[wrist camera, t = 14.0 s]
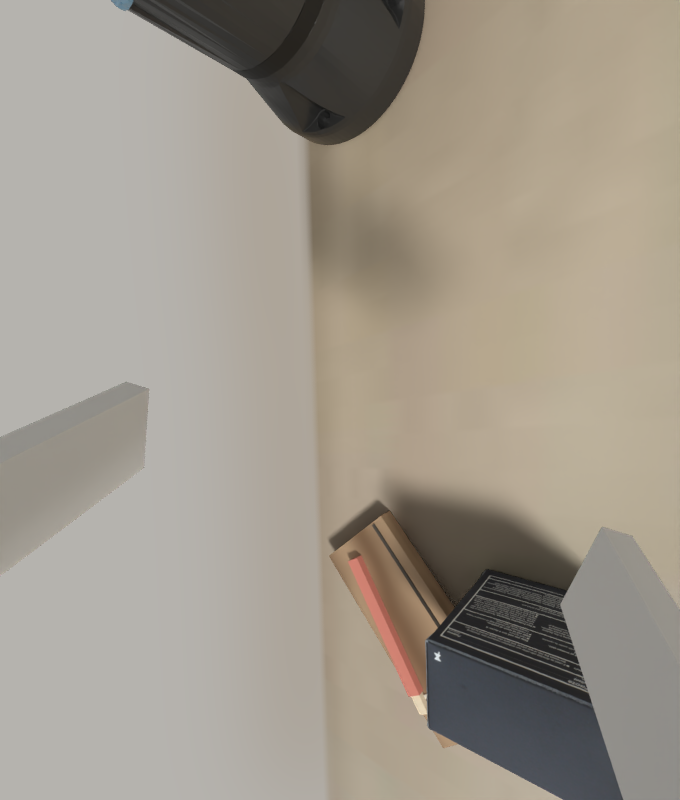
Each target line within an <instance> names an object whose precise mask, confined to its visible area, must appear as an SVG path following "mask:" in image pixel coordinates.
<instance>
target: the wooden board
mask: <svg viewBox="0 0 680 800" xmlns="http://www.w3.org/2000/svg"><path fill="white" fill-rule="evenodd" d="M360 555H361V556H362V558H363V560H364V562H365V564H366V566H367V569H368V571H369V573H370V575H371V577H372V579H373V582H374V584H375V586H376V588H377V590H378V593H379V595H380V597H381V599H382V601H383V603H384V606H385V608H386V610H387V612H388V614H389V616H390V619H391V621H392V623H393V625H394V627H395V630H396V632H397V634H398V636H399V638H400V640H401V643H402V645H403V647H404V649H405V651H406V653H407V656H408V658H409V660H410V662H411V664H412V667H413V669H414V671H415V673H416V675H417V677H418V680H419V682H420V684H421V686H422V688H423V691H422V692H423V695H424V697H425V699H426V701H427V690H426V649H425V640H426V639H427V638H428V637H429V636H430V635H431V634H433V633H434V632H435V631H436V629H437V628H438V627H439V626H440V625H441V624H442V622H443V621H444V620H445V619H446V617H447V616H448V615H449V614H450V613H451V612H452V611H453V609H454V608H455V607H454V606H453V605H452V603H451V602H450V600H449V599H448V597H447V596H446V594H445V593H444V591H443V590H442V588H441V587H440V585H439V584H438V582H437V581H436V579H435V578H434V576H433V575H432V573H431V572H430V570H429V569H428V567H427V566H426V564H425V563H424V561H423V560H422V558H421V557H420V555H419V554H418V552H417V551H416V549H415V548H414V546H413V545H412V543H411V542H410V540H409V539H408V537H407V536H406V534H405V533H404V531H403V530H402V528H401V527H400V525H399V524H398V522H397V521H396V519H395V518H394V516H393V515H392V513H391V512H390V511H389V512H387V513H385V514H383V515H381V516H380V517H379V518H377V519H376V520H375V521H373V522H372V523H371V524H370V525H368V526H367V527H366V528H364V529H363V530H362V531H360V532H359V533H358V534H357V535H355V536H354V537H353V538H351V539H350V540H349V541H348V542H346V543H345V544H344V545H342V546H341V547H340V548H339V549H337V550H336V551H335V552H333V553H332V554H331V555H330V556H329V557H330V558H331V560H332V562H333V563H334V565H335V567H336V569H337V570H338V572H339V574H340V575H341V577H342V579H343V580H344V582H345V584H346V585H347V587H348V589H349V590H350V592H351V594H352V595H353V597H354V599H355V601H356V602H357V604H358V606H359V607H360V609H361V611H362V612H363V614H364V616H365V617H366V619H367V621H368V622H369V624H370V626H371V627H372V629H373V631H374V632H375V634H376V636H377V638H378V639H379V641H380V643H381V644H382V646H383V648H384V649H385V651H386V653H387V654H388V656H389V658H390V659H391V656H390V654H389V652H388V650H387V647H386V645H385V643H384V641H383V639H382V636H381V634H380V632H379V630H378V627H377V625H376V623H375V621H374V619H373V616H372V614H371V612H370V610H369V607H368V605H367V603H366V601H365V599H364V596H363V594H362V592H361V590H360V587H359V585H358V583H357V581H356V579H355V576H354V574H353V572H352V570H351V567H350V565H349V563H348V561H350V560H351V559H353V558H355V557H358V556H360ZM391 661H392V659H391ZM392 663H393V661H392ZM393 664H394V663H393ZM394 666H395V665H394ZM395 668H396V667H395ZM424 717H425V718H426V720H427V714H424ZM433 732H434V733H435V735H436V737H437V738H438V740H439V742H440V743H441V745H442V747H443V748H446V747H449V746H453V745H456V744H457V743H455V742H453V741H451V740H450V739H448V738H446V737H444V736H442V735H440V734H438V733H436V732H435V731H433Z"/></svg>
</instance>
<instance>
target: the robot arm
mask: <svg viewBox="0 0 680 800" xmlns="http://www.w3.org/2000/svg"><path fill="white" fill-rule="evenodd" d="M111 1H112V2H113V3H114V5H115V6H117V7H118V8H120V9H121V10H124V11H126V10H128V11H130V12H132V13H134V14H135V15H137V16H139V17H141V18H142V19H144V20H146V21H148V22H149V23H151V24H153V25H154V26H156V27H158V28H160V29H161V30H163V31H165V32H167V33H168V34H170V35H172V36H174V37H176V38H177V39H179V40H181V41H182V42H184V43H186V44H188V45H189V46H191V47H193V48H195V49H196V50H198V51H200V52H201V53H203V54H205V55H207V56H208V57H210V58H212V59H214V60H216V61H217V62H219V63H221V64H222V65H224V66H226V67H228V68H230V69H231V70H233V71H235V72H236V73H238V74H240V75H241V76H243V77H245V78H246V79H247V80H248V81H249V82H250V84H251V85H252V86H253V87H254V88H255V90H256V91H257V92H258V93H259V95H260V96H261V97H262V98H263V99H264V101H265V102H266V103H267V104H268V106H269V107H270V108H271V109H272V111H273V112H274V113H275V114H276V115H277V116H278V118H279V119H280V120H281V121H282V123H284V125H286V126H287V127H288V128H289V129H290V130H292V131H293V132H295V133H297V134H298V135H300V136H302V137H304V138H306V139H308V140H310V141H312V142H314V143H318V144H323V145H333V144H339V143H342V142H345V141H348V140H350V139H352V138H354V137H356V136H358V135H359V134H361V133H362V132H364V131H365V130H366V129H368V128H369V127H370V126H371V125H372V124H373V123H375V122H376V121H377V120H378V119H379V118H380V117H381V115H382V114H383V113H384V112H385V111H386V110H387V108H388V107H389V106H390V104H391V103H392V102H393V100H394V99H395V97H396V96H397V94H398V92H399V91H400V89H401V87H402V86H403V84H404V82H405V80H406V78H407V76H408V74H409V71H410V69H411V67H412V64H413V62H414V59H415V56H416V53H417V50H418V46H419V43H420V38H421V34H422V28H423V21H424V9H425V0H111ZM148 399H149V389H148V388H145V387H141V386H138V385H135V384H131V383H128V382H125V383H122V384H120V385H118V386H116V387H113V388H111V389H109V390H107V391H104V392H102V393H100V394H98V395H95V396H93V397H91V398H88V399H86V400H84V401H81V402H79V403H77V404H75V405H73V406H70V407H68V408H66V409H63V410H61V411H59V412H56V413H54V414H52V415H50V416H47V417H45V418H43V419H41V420H38V421H36V422H34V423H31V424H29V425H27V426H25V427H23V428H20V429H18V430H16V431H13V432H11V433H9V434H7V435H5V436H2V437H0V576H1V575H2V574H3V573H5V572H6V571H8V570H9V569H10V568H11V567H13V566H14V565H15V564H17V563H18V562H19V561H21V560H22V559H23V558H25V557H26V556H27V555H29V554H30V553H31V552H33V551H34V550H35V549H37V548H38V547H39V546H41V545H42V544H43V543H44V542H46V541H47V540H48V539H50V538H51V537H53V536H54V535H55V534H56V533H58V532H59V531H61V530H62V529H63V528H65V527H66V526H67V525H68V524H70V523H71V522H73V521H74V520H75V519H77V518H78V517H79V516H81V515H82V514H83V513H85V512H86V511H87V510H88V509H90V508H91V507H93V506H94V505H95V504H96V503H98V502H99V501H100V500H102V499H103V498H104V497H106V496H107V495H108V494H110V493H111V492H112V491H114V490H115V489H116V488H118V487H119V486H120V485H122V484H123V483H124V482H126V481H127V480H128V479H130V478H131V477H132V476H134V475H135V474H136V473H138V472H139V471H140V470H142V469H143V468H144V459H145V443H146V429H147V414H148ZM560 606H561V609H562V612H563V615H564V618H565V621H566V624H567V627H568V630H569V633H570V637H571V640H572V643H573V646H574V649H575V652H576V655H577V658H578V661H579V664H580V667H581V671H582V674H583V677H584V680H585V683H586V686H587V689H588V692H589V695H590V698H591V702H592V705H593V708H594V711H595V714H596V717H597V720H598V723H599V726H600V729H601V732H602V736H603V739H604V742H605V745H606V748H607V751H608V754H609V757H610V760H611V763H612V767H613V770H614V773H615V776H616V779H617V782H618V785H619V788H620V791H621V794H622V797H623V800H680V609H679V608H678V606H677V605H676V603H675V602H674V600H673V598H672V597H671V595H670V594H669V592H668V591H667V589H666V588H665V586H664V584H663V583H662V581H661V580H660V578H659V577H658V575H657V574H656V572H655V570H654V569H653V567H652V566H651V564H650V563H649V561H648V560H647V558H646V557H645V555H644V553H643V552H642V550H641V549H640V547H639V546H638V544H637V543H636V541H635V539H634V538H633V536H631V535H628V534H624V533H621V532H618V531H615V530H611V529H608V528H605V527H601V529H600V531H599V533H598V535H597V537H596V539H595V540H594V542H593V544H592V546H591V548H590V550H589V552H588V554H587V555H586V557H585V559H584V561H583V563H582V565H581V567H580V568H579V570H578V572H577V574H576V576H575V578H574V580H573V582H572V583H571V585H570V587H569V589H568V591H567V593H566V595H565V596H564V598H563V600H562V602H561V604H560Z"/></svg>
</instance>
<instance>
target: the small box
mask: <svg viewBox="0 0 680 800" xmlns="http://www.w3.org/2000/svg"><path fill="white" fill-rule="evenodd" d="M566 593H567V591H566V590H562V589H558V588H554V587H551V586H547V585H544V584H540V583H537V582H533V581H529V580H525V579H522V578H518V577H514V576H511V575H507V574H503V573H499V572H495V571H492V570H489V569H487V570H485V571H484V572H483V573H482V574H481V577H480V578H479V580H478V581H477V582H476V583H475V585H474V586H473V587H472V588H471V589H470V590H469V591H468V593H467V594H466V595H465V596H464V597H463V599H462V600H461V601H460V602H459V604H458V605H457V606H456V607H455V608H454V609H453V611H452V612H451V613H450V614H449V615H448V616H447V617H446V619H445V620H444V621H443V622H442V624H441V625H440V626H439V627H438V628H437V629H436V631H435V632H434V633H433V634H431V635H430V636H429V637H428V638H427V639H426V640H425V649H426V690H427V726H428V728H429V729H430V730H433V731H435V732H436V733H438V734H440V735H442V736H444V737H446V738H448V739H450V740H451V741H453V742H455V743H457V744H459V745H461V746H463V747H465V748H467V749H469V750H471V751H473V752H475V753H476V754H478V755H480V756H482V757H484V758H486V759H488V760H490V761H492V762H493V763H495V764H497V765H499V766H501V767H503V768H505V769H507V770H508V771H510V772H512V773H514V774H516V775H518V776H520V777H522V778H524V779H525V780H527V781H529V782H531V783H533V784H535V785H537V786H539V787H541V788H543V789H544V790H546V791H548V792H550V793H552V794H554V795H556V796H557V797H559V798H561V799H563V800H623V797H622V794H621V791H620V788H619V785H618V782H617V779H616V776H615V773H614V770H613V767H612V763H611V760H610V757H609V754H608V751H607V748H606V745H605V742H604V739H603V736H602V732H601V729H600V726H599V723H598V720H597V717H596V714H595V711H594V708H593V705H592V702H591V698H590V695H589V692H588V689H587V686H586V683H585V680H584V677H583V674H582V671H581V667H580V664H579V661H578V658H577V655H576V652H575V649H574V646H573V643H572V640H571V637H570V633H569V630H568V627H567V624H566V621H565V618H564V615H563V612H562V609H561V606H560V604H561V602H562V600H563V598H564V596H565V595H566Z"/></svg>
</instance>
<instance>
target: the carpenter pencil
mask: <svg viewBox="0 0 680 800" xmlns="http://www.w3.org/2000/svg"><path fill="white" fill-rule="evenodd" d="M348 563H349V565H350V567H351V570H352V572H353V574H354V576H355V579H356V581H357V583H358V585H359V587H360V590H361V592H362V594H363V596H364V599H365V601H366V603H367V605H368V607H369V610H370V612H371V614H372V616H373V619H374V621H375V623H376V625H377V627H378V630H379V632H380V634H381V636H382V639H383V641H384V643H385V645H386V647H387V650H388V652H389V654H390V656H391V659H392V661H393V663H394V665H395V667H396V670H397V672H398V674H399V676H400V679H401V681H402V683H403V685H404V687H405V690H406V692H407V694H408V696H409V697H410V696H411V697H412V699H413V701H414V703H415V706H416V708H417V710H418V712H419V715H424V714H427V701H426V699H425V697H424V695H423V692H422V691H423V688H422V686H421V684H420V682H419V680H418V677H417V675H416V673H415V671H414V669H413V667H412V664H411V662H410V660H409V658H408V656H407V653H406V651H405V649H404V647H403V645H402V643H401V640H400V638H399V636H398V634H397V632H396V630H395V627H394V625H393V623H392V621H391V619H390V616H389V614H388V612H387V610H386V608H385V606H384V603H383V601H382V599H381V597H380V595H379V593H378V590H377V588H376V586H375V584H374V582H373V579H372V577H371V575H370V573H369V571H368V569H367V566H366V564H365V562H364V560H363V558H362V556H361V555H360V556H358V557H355V558H353V559H351V560H350V561H348Z"/></svg>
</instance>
